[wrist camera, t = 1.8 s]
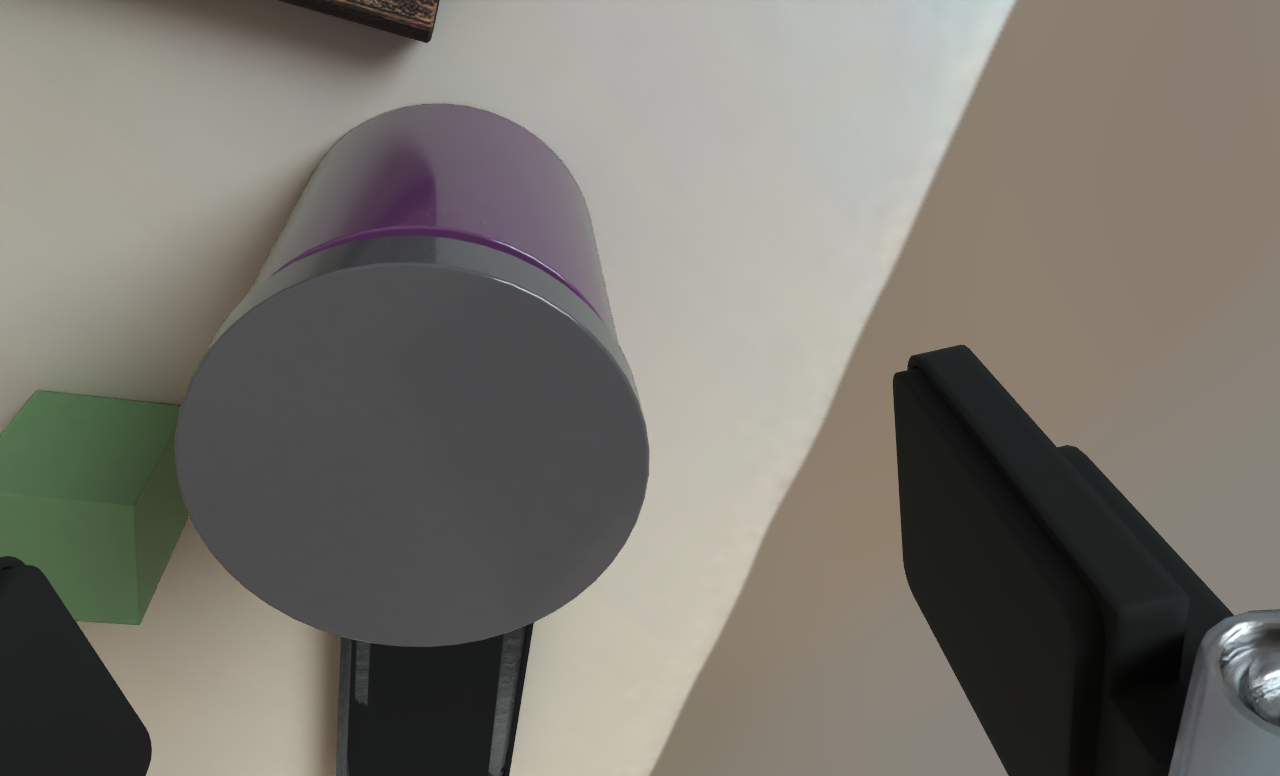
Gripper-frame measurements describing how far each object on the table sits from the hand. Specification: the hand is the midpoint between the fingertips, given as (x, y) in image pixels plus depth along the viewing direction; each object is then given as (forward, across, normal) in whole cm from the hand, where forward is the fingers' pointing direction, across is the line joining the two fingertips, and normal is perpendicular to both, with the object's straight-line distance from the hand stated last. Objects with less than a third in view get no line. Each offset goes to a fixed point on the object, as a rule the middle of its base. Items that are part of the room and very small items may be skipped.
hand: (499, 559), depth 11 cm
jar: (+24, +3, +5) cm, 24 cm away
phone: (+24, +9, +23) cm, 34 cm away
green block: (+24, +17, +10) cm, 31 cm away
